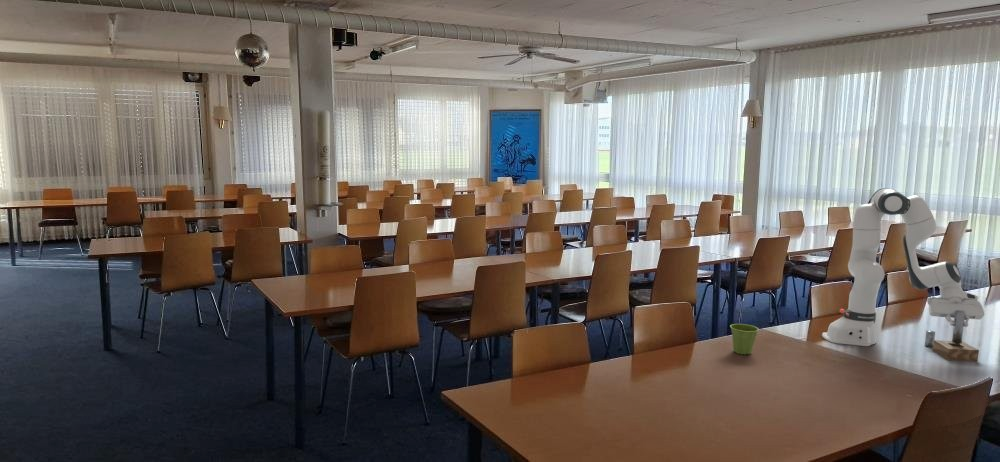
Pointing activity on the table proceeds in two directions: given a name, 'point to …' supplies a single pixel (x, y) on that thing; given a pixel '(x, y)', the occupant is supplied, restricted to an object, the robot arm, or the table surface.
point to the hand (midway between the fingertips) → (959, 325)
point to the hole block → (955, 351)
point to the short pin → (929, 338)
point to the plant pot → (743, 337)
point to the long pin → (958, 327)
